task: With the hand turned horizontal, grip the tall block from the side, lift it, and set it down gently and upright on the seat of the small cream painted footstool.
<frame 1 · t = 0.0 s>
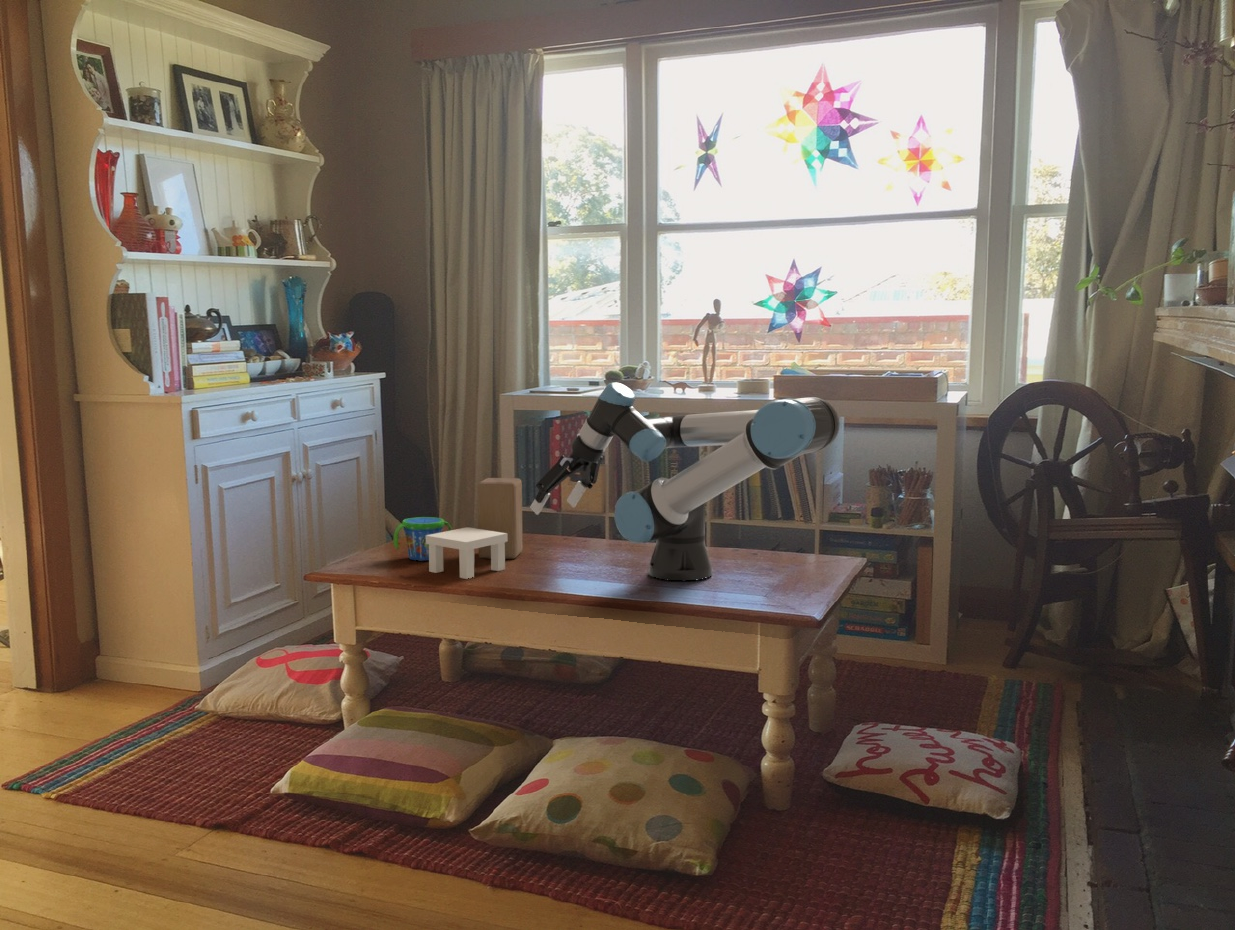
hand: (552, 507, 252), 15 cm above the table, tool tilted 35°, fingers open, 13 cm apart
block: (500, 556, 269), on the table
footstool: (467, 570, 251), on the table
snack cup: (424, 559, 265), on the table
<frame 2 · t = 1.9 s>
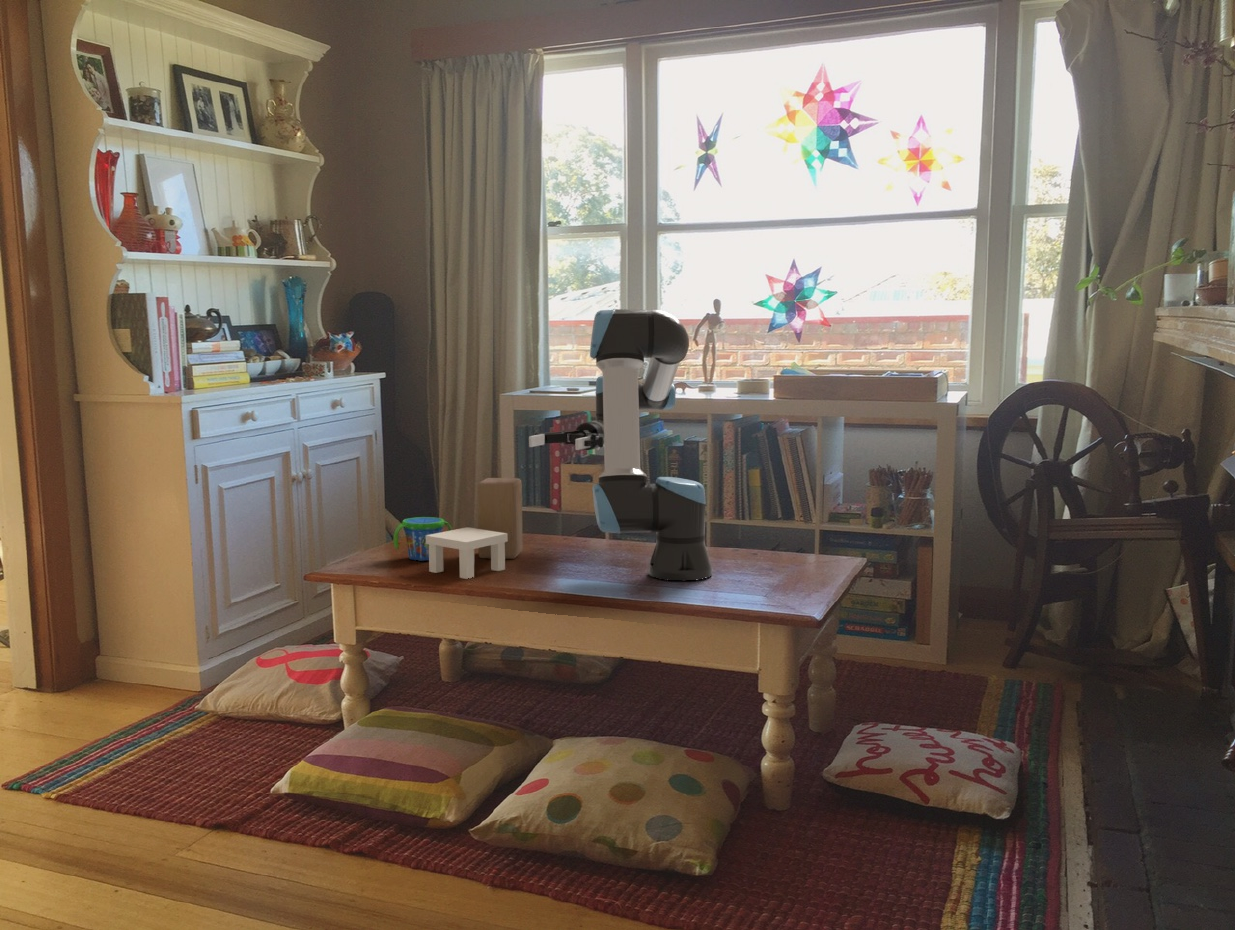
hand: (553, 443, 260), 30 cm above the table, tool horizontal, fingers open, 13 cm apart
nothing on the table moved.
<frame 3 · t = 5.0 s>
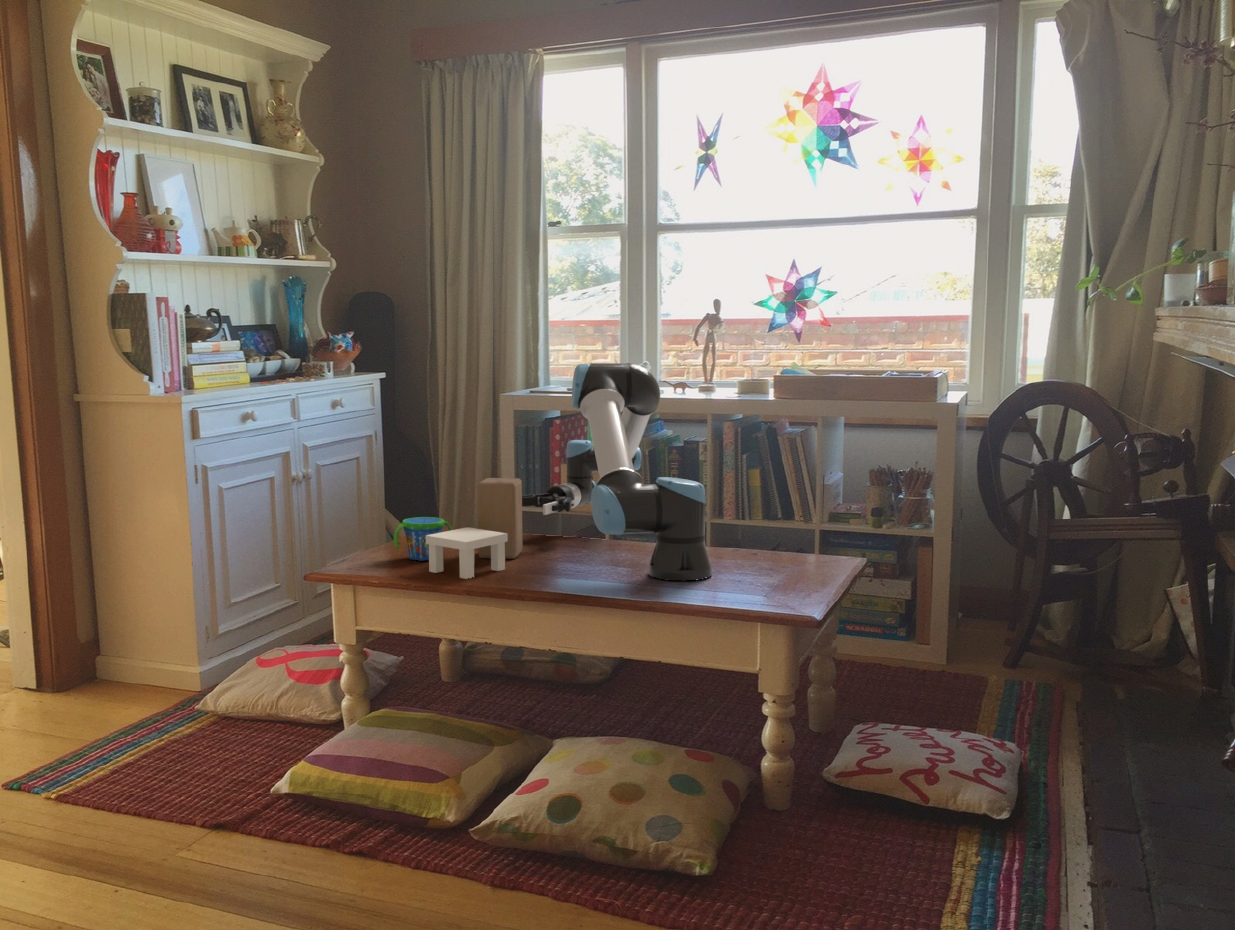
hand: (522, 507, 277), 11 cm above the table, tool horizontal, fingers open, 13 cm apart
nothing on the table moved.
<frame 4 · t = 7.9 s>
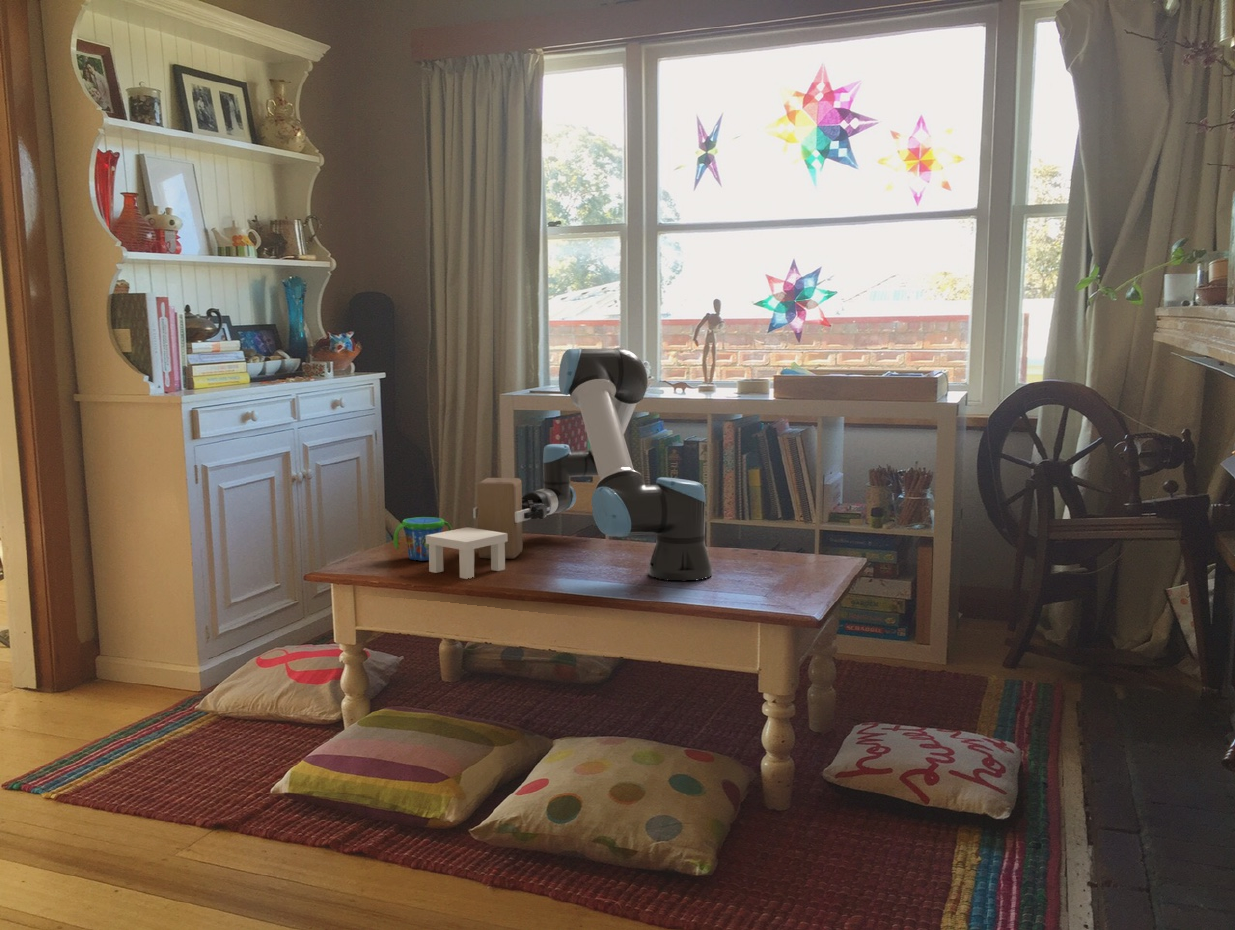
hand: (494, 515, 265), 11 cm above the table, tool horizontal, fingers closed on block, 12 cm apart
block: (500, 556, 269), on the table, touching gripper
everything else where it was.
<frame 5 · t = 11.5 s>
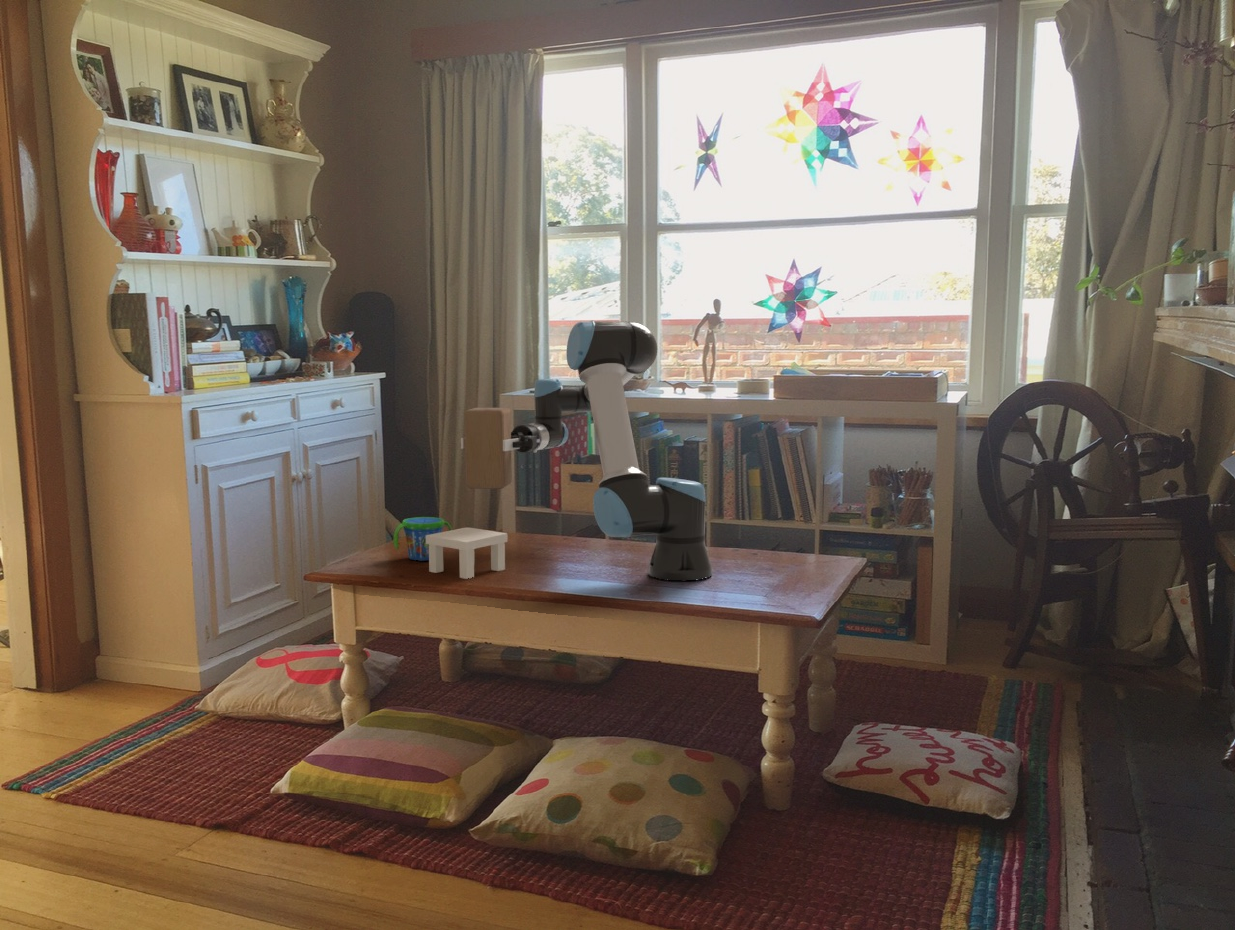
hand: (482, 444, 259), 30 cm above the table, tool horizontal, fingers closed on block, 12 cm apart
block: (489, 487, 263), point 19 cm above the table, touching gripper
everything else where it was.
when the fingers open (21 cm above the table, at t = 15.2 s): block drops 1 cm, resting on footstool.
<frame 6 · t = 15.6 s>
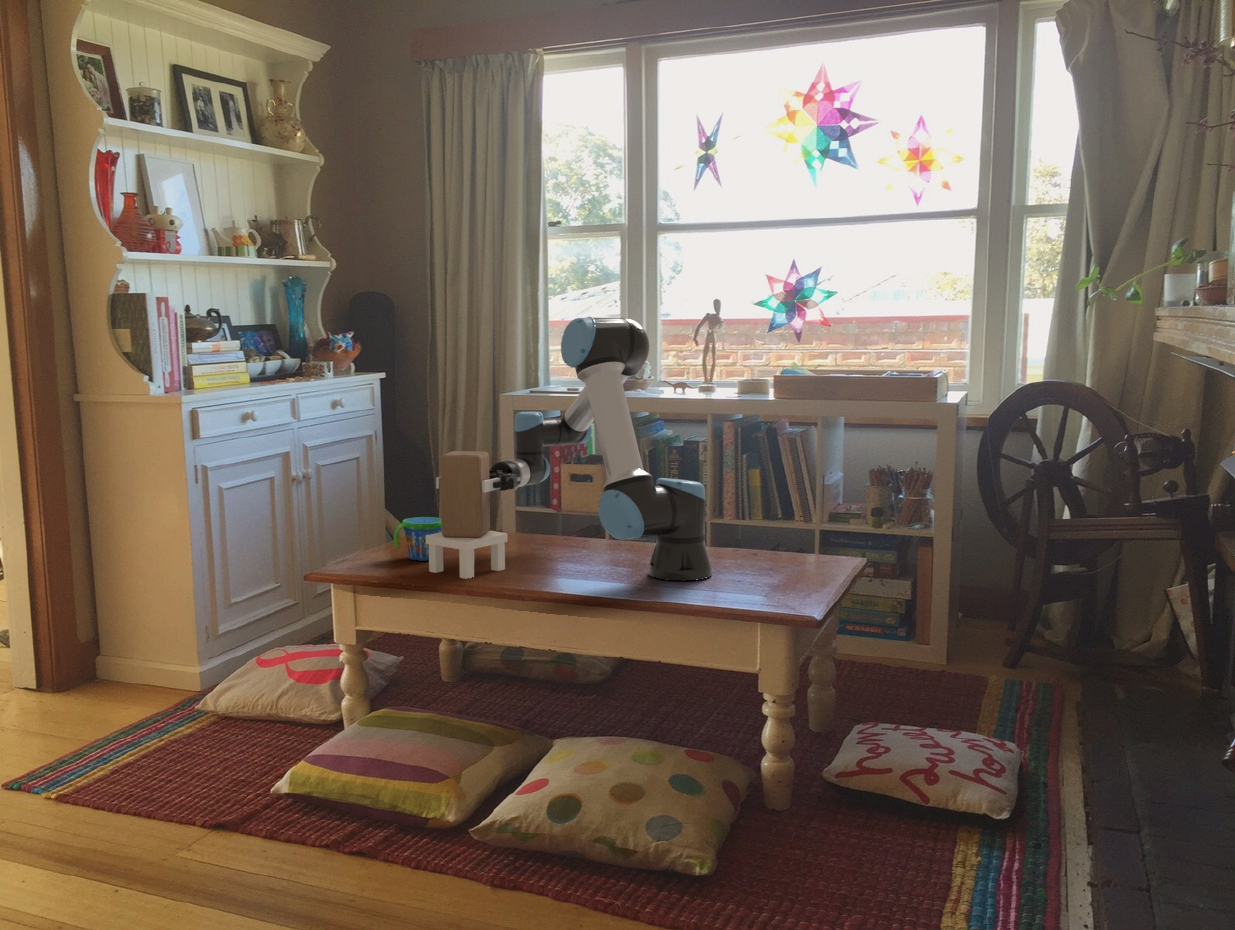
hand: (460, 484, 246), 21 cm above the table, tool horizontal, fingers open, 13 cm apart
block: (466, 535, 250), point 9 cm above the table, touching footstool
everything else where it was.
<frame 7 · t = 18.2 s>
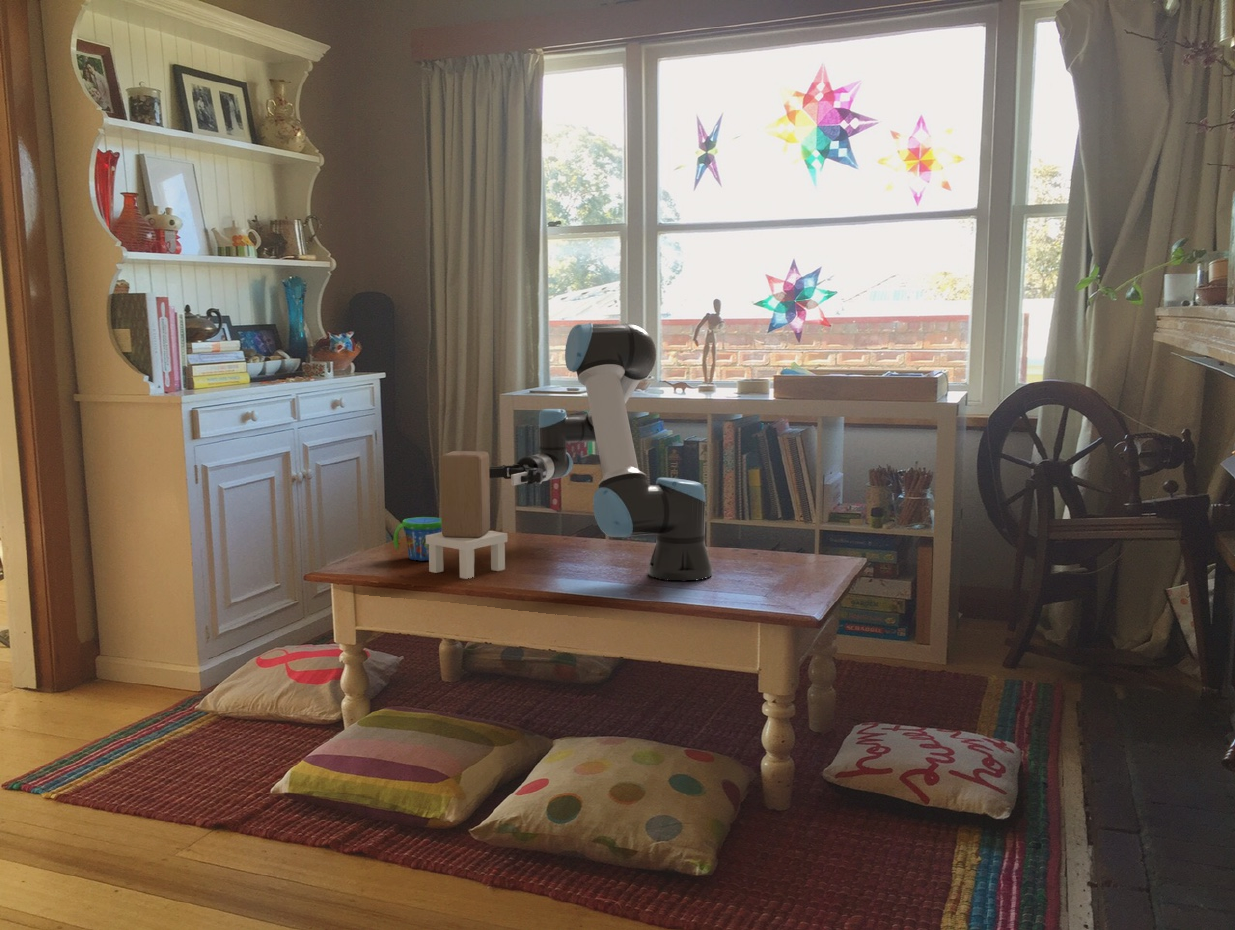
hand: (489, 478, 257), 22 cm above the table, tool horizontal, fingers open, 13 cm apart
nothing on the table moved.
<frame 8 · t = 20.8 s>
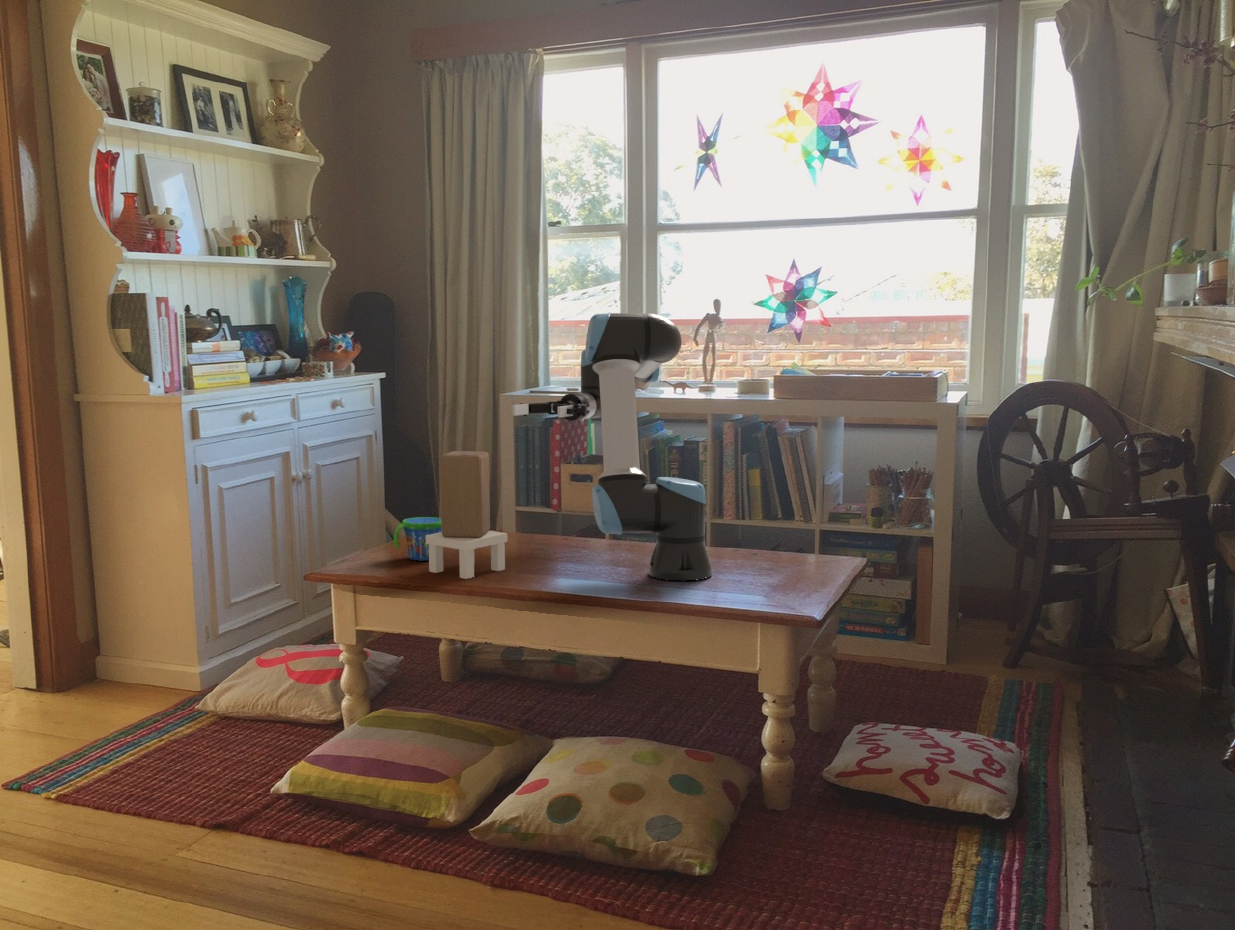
hand: (535, 411, 263), 38 cm above the table, tool horizontal, fingers open, 13 cm apart
nothing on the table moved.
at the end: block inside the target area on the footstool (0.2 cm from its centre), point 8.8 cm above the footstool's base; block tilted 0°; the gripper is holding nothing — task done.
